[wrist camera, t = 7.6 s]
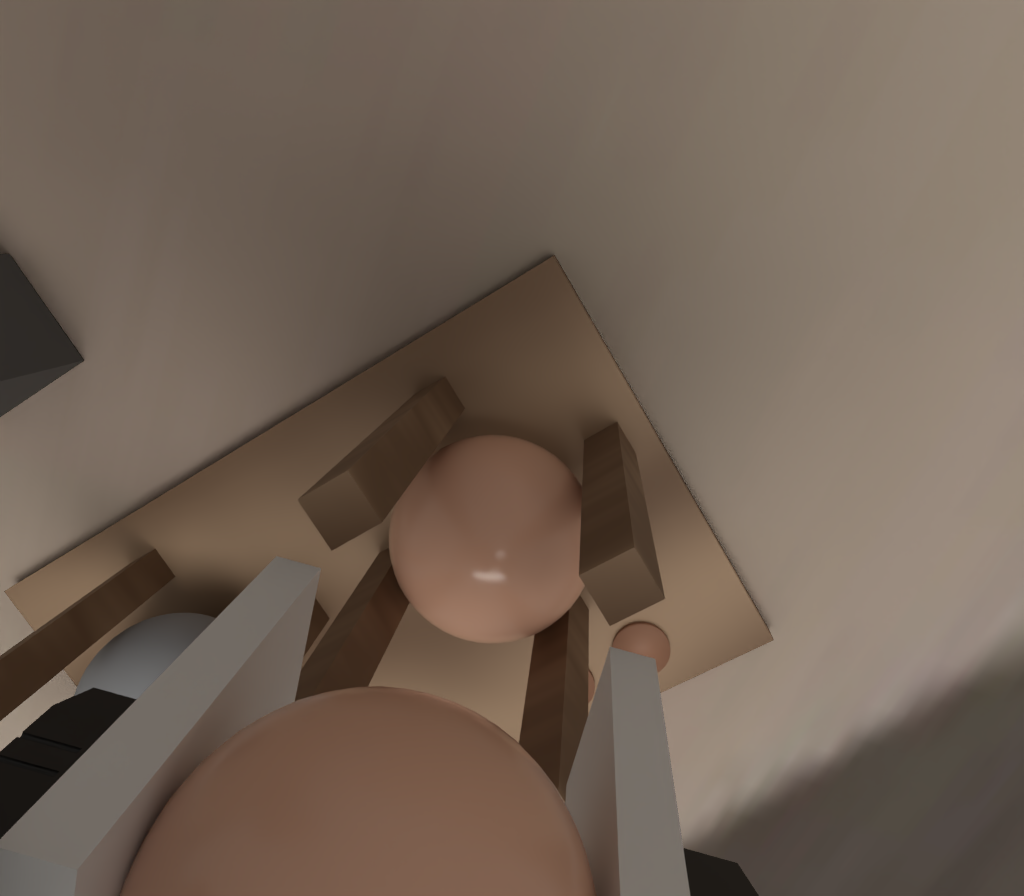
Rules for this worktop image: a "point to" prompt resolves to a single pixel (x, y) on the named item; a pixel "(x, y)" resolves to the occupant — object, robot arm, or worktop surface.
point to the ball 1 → (142, 653)
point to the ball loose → (365, 808)
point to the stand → (28, 340)
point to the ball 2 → (489, 539)
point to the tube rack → (366, 521)
